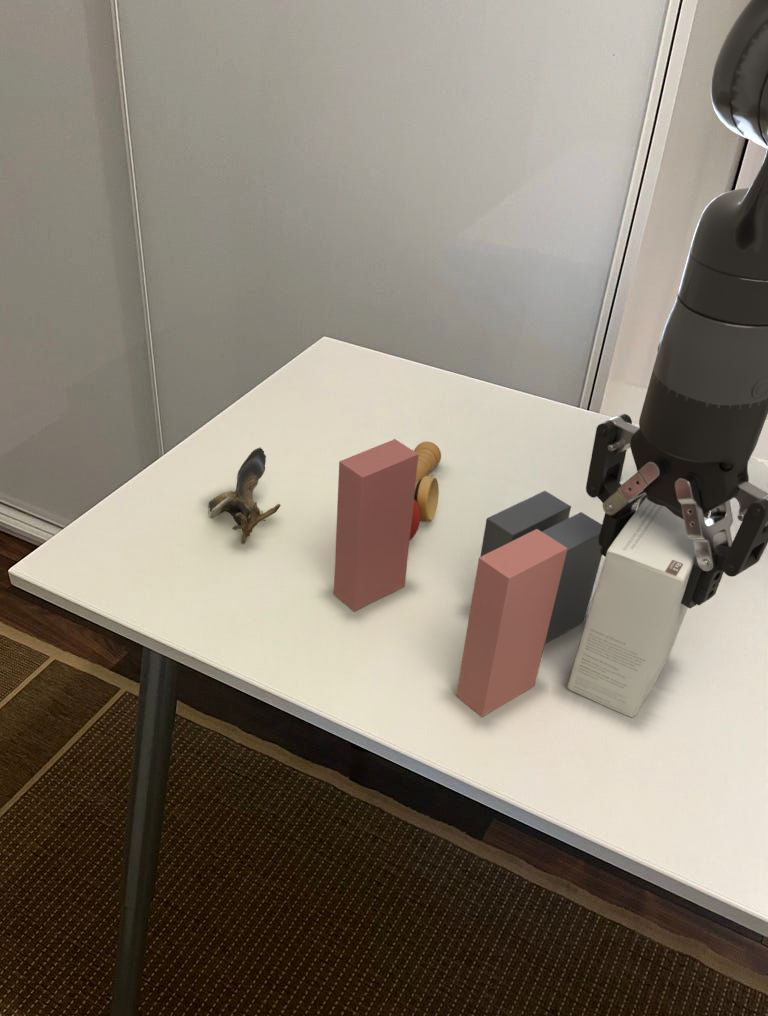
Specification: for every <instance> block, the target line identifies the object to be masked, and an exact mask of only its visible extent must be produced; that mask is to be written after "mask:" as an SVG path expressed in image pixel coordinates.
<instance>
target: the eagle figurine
mask: <svg viewBox="0 0 768 1016" xmlns="http://www.w3.org/2000/svg"><path fill="white" fill-rule="evenodd" d="M266 458H267V455H266V454H265V451H264V449H263V448H262V447H261V446H259V447H257V448H255V449H254V450H252V451H251V452H250V454H249V455H248V456H247V457H246V459H245V460H244V461H243V463H242V465H241V466H240V468H239V469H238V472H237V475H236V487H235V490H229V491H224V492H222V493H220V494H219V495H217V496H215V497H214V498H212V499H211V500H210V501H208V507H209V518H210V519H215V518H217V517H219V516H220V515H222V514H224V513H228V514H229V515H230V517H232V518H233V521H234V523H236V524H235V525H234V526H231V529H232V530H233V531H237V530H241V540H240V543H241V544H242V545H244V544H245V543H246V540H247V539H248V537H250V536H251V533H252V532H253V530H254V528H256V526H258V524H259V523H260V522H262V521H267V519H266V518H268V517H270V516H272V515H274V514H276V513H277V512H278V510H279V509H280V507H281V504H280V503H277V504H276V505H275V506H274V507H271V508H269V509H268V510H266V511H265V512H264V511H263V510H262V508H261V509H260V507H258V502H257V501H254V499H253V498H254V497H253V496H254V495H253V493H254V490H255V488H256V487H257V486H258V484H259V481H260V479H261V478H262V477H263V476H264V473H265V472H266V462H267V461H266V460H267V459H266Z"/></svg>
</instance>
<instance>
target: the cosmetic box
mask: <svg viewBox="0 0 768 1016" xmlns="http://www.w3.org/2000/svg"><path fill="white" fill-rule="evenodd" d="M708 518H709V517H707V518H705V517H704V520H707V519H708ZM696 563H697V558H696V553H695V548H694V543H693V541H692V540H690V539H689V538H688V537H687V533H686V528H685V523H684V519H682V518H680V517H678V516H676V515H674V514H673V513H672V512H671V511H670V510H669V509H668V508H666V507H665V506H661V505H657V504H655V503H653V502H651V501H649V500H647V498H646V499H645V500H644V501H643V502H642V504H641V505H640V507H639V508H638V509H637V510H636V512H635V513H634V514H633V516H632V517H631V518H630V519H629V521H628V522H627V523H626V525H625V526H624V528H623V529H622V530H621V532H620V533H619V535H618V536H617V537H616V539H615V540H614V541H613V543H612V544H611V546H610V547H609V549H608V550H607V554H606V557H605V558H604V561H603V565H602V567H601V572H600V575H599V578H598V583H597V586H596V590H595V593H594V596H593V598H592V602H591V603H590V604H591V605H590V608H589V611H588V615H587V618H586V620H585V621H586V622H585V625H584V628H583V630H582V635H581V638H580V641H579V644H578V648H577V652H576V654H575V658H574V662H573V664H572V668H571V671H570V675H569V679H568V682H567V686H566V688H567V689H568V690H569V691H571V692H574V693H575V694H578V695H580V696H583V697H585V698H587V699H589V700H591V701H594V702H596V703H598V704H600V705H602V706H605V707H606V708H609V709H612V711H616V712H618V713H620V714H622V715H625V716H627V717H628V718H629V717H630V718H634V717H635V716H636V715H637V714H638V712H639V711H640V709H641V708H642V706H643V704H644V703H645V700H646V699H647V697H648V696H649V694H650V693H651V691H652V689H653V687H654V685H655V684H656V682H657V680H658V679H659V676H660V674H661V672H662V670H663V668H664V666H665V665H666V663H667V662H668V660H669V658H670V655H671V652H672V649H673V648H674V645H675V643H676V640H677V637H678V634H679V632H680V629H681V627H682V624H683V621H684V620H685V616H686V614H687V611H688V609H689V608H688V607H686V606H685V605H683V604H681V601H682V598H683V595H684V592H685V589H686V585H687V582H688V579H689V576H690V574H691V571H692V568H693V565H694V564H696Z"/></svg>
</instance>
